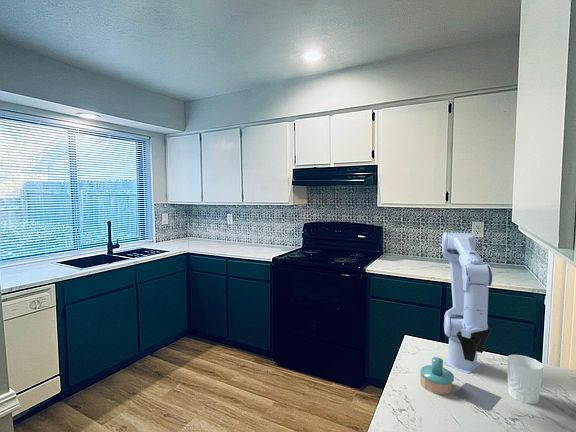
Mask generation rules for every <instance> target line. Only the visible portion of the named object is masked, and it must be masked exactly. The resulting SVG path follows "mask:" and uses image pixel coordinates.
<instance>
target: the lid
mask: <svg viewBox="0 0 576 432" xmlns="http://www.w3.org/2000/svg"><path fill="white" fill-rule="evenodd" d="M443 362H444V360H443V359H442V358H441V357H438V356H434V357H432V358H431V365H424V366H422V367H421V368H420V374H421V375H422V376H423V377H424V378H425V379H426V380H428V381H430V382H433V383H436V384H443V385H446V384H451V383H452V384H453V382H454V380H455V375H454V374H453V372H452V371H450V370H448V369H447V368H445V367H444V364H443Z"/></svg>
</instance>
